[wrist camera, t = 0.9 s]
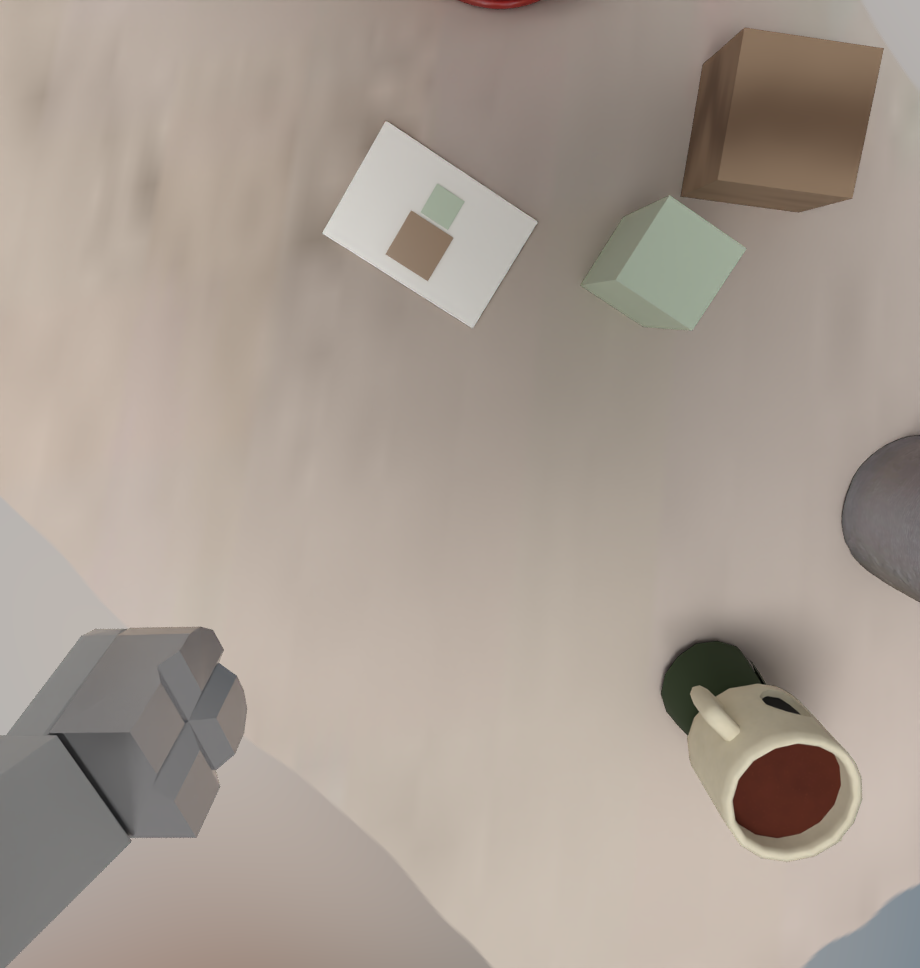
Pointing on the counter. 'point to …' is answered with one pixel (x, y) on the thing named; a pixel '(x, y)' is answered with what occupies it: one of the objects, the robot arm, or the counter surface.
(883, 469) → the pillar candle
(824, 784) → the character mug
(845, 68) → the walnut base
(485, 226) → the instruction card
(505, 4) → the plant pot
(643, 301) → the sage brick
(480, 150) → the counter surface
